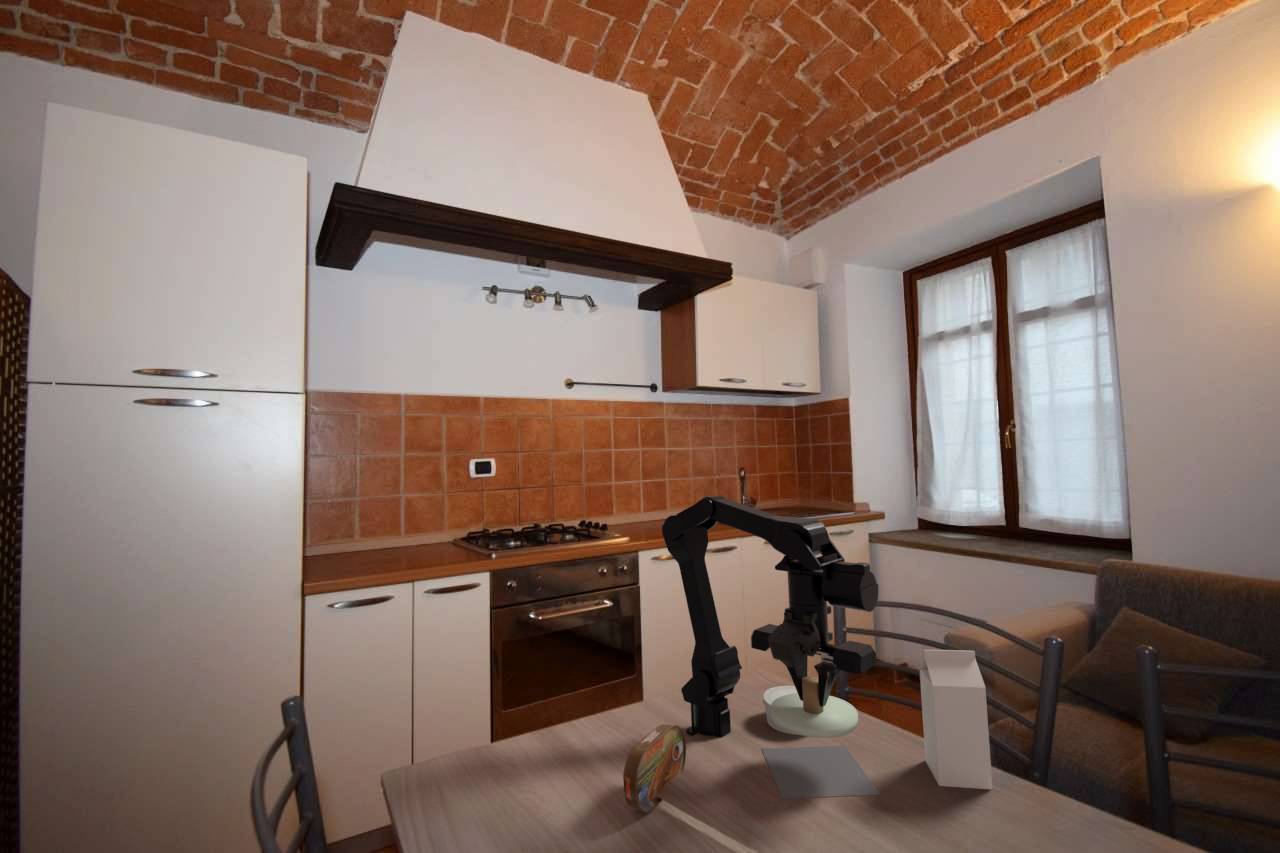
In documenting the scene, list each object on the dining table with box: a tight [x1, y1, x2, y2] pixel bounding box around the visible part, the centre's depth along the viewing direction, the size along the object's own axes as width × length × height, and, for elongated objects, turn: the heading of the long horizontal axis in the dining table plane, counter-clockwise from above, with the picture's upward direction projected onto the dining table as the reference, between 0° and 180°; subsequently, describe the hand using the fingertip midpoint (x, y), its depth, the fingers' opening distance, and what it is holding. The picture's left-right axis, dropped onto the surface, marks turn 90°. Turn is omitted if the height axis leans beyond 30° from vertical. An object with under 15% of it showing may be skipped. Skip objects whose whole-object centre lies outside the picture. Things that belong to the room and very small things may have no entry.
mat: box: [761, 745, 881, 800], centre depth 89 cm, size 14×14×1 cm
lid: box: [771, 675, 859, 739], centre depth 89 cm, size 13×13×6 cm
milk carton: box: [919, 649, 993, 790], centre depth 87 cm, size 7×7×19 cm
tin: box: [622, 724, 687, 813], centre depth 86 cm, size 15×3×8 cm, turn 149°
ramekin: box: [762, 685, 799, 736], centre depth 105 cm, size 11×11×5 cm
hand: (812, 702), depth 89 cm, fingers closed on lid, 3 cm apart
